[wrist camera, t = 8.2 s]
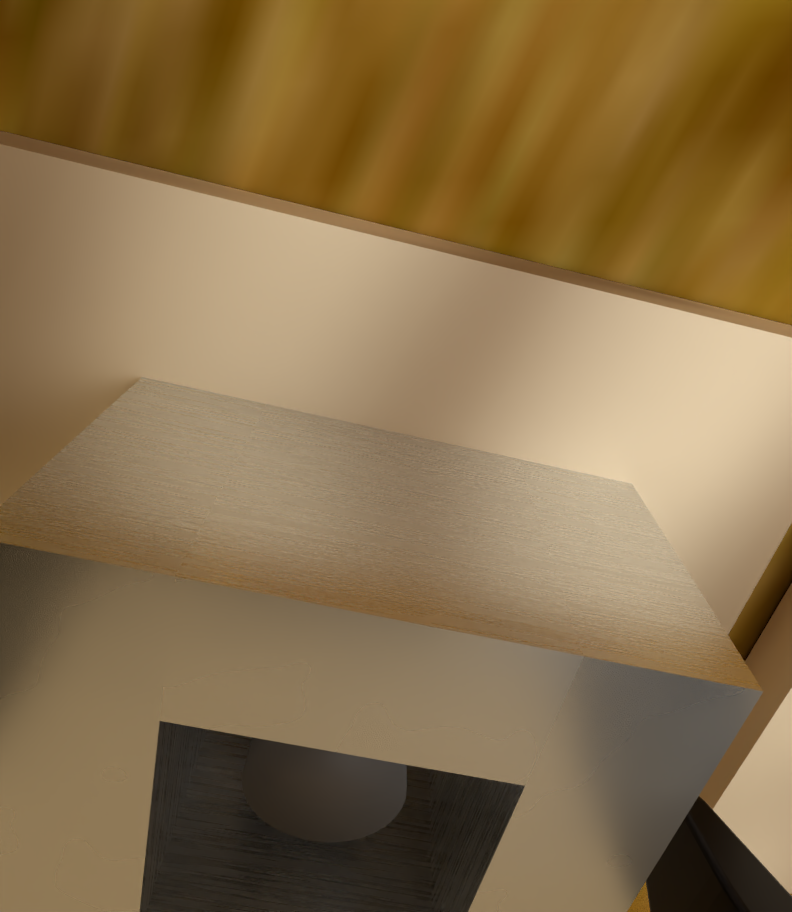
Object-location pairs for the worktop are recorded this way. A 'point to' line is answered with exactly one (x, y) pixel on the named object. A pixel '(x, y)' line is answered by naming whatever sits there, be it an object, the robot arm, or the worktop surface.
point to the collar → (342, 668)
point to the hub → (382, 375)
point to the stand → (763, 756)
